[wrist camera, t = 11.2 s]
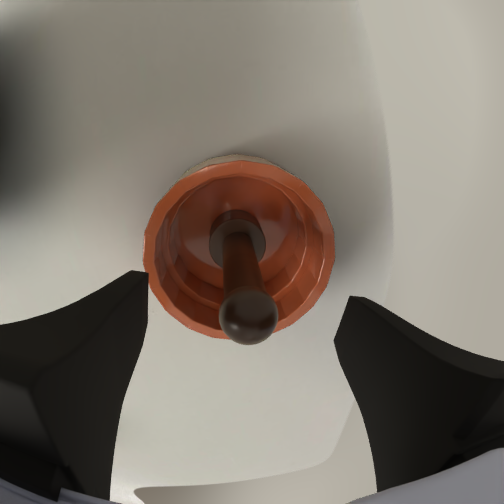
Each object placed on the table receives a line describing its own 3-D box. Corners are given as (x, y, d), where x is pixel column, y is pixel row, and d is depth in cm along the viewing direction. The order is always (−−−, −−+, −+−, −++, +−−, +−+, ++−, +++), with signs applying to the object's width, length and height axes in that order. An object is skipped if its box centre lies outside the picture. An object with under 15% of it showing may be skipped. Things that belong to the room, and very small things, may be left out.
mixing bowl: (325, 169, 18) (355, 182, 14) (292, 304, 21) (308, 345, 17) (168, 144, 17) (152, 148, 12) (155, 289, 20) (141, 328, 16)
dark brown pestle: (265, 213, 18) (309, 295, 9) (256, 261, 19) (286, 370, 10) (213, 205, 18) (208, 284, 9) (206, 254, 19) (198, 363, 10)
